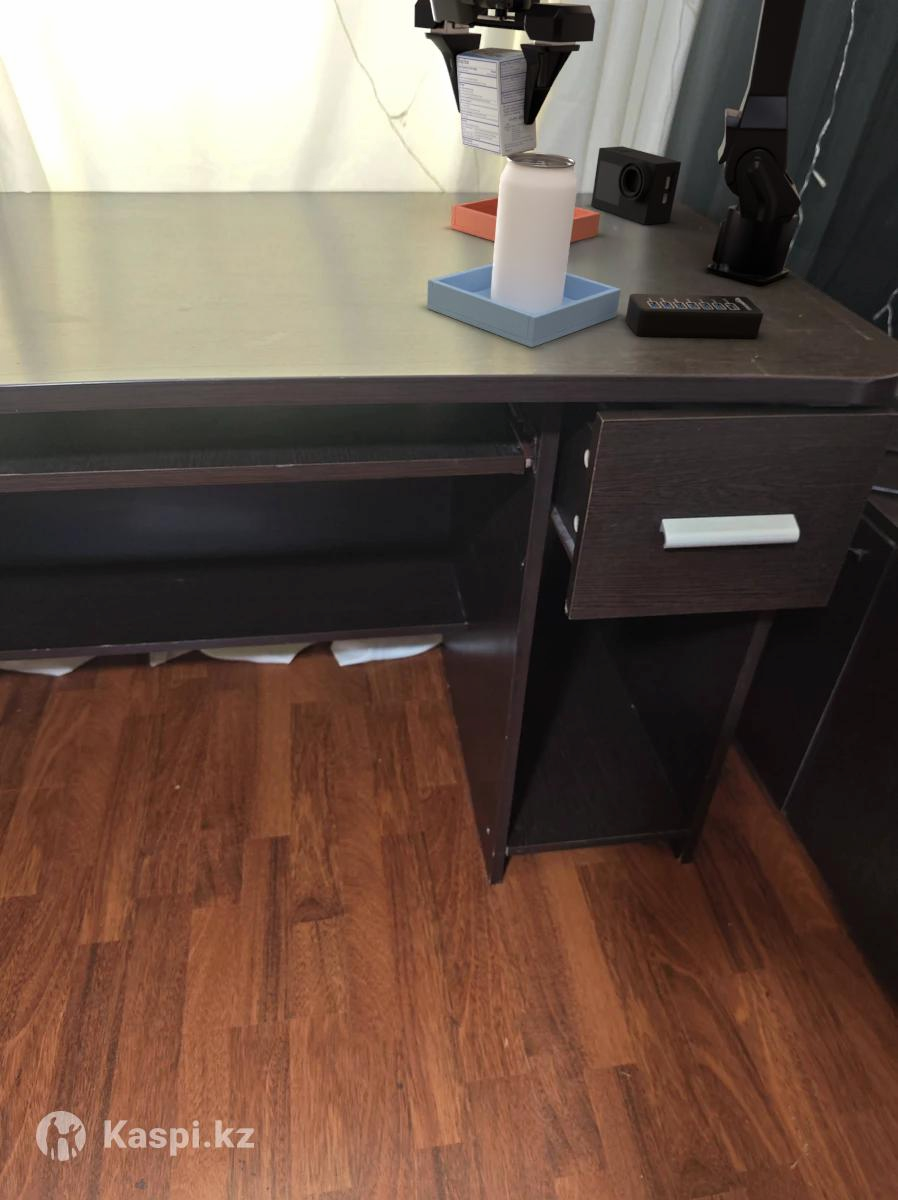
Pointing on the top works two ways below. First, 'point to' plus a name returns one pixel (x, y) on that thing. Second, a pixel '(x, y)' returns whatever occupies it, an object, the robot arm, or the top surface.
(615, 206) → the digital camera
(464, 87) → the medicine box
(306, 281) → the top surface
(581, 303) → the blue tray
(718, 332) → the multiport hub
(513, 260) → the can
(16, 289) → the top surface
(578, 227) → the coral tray
